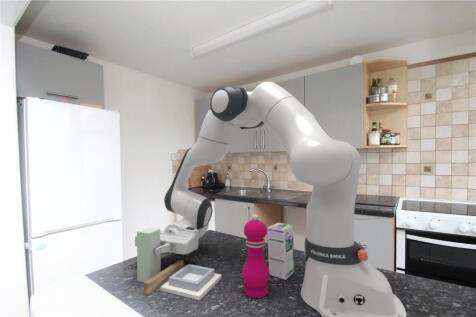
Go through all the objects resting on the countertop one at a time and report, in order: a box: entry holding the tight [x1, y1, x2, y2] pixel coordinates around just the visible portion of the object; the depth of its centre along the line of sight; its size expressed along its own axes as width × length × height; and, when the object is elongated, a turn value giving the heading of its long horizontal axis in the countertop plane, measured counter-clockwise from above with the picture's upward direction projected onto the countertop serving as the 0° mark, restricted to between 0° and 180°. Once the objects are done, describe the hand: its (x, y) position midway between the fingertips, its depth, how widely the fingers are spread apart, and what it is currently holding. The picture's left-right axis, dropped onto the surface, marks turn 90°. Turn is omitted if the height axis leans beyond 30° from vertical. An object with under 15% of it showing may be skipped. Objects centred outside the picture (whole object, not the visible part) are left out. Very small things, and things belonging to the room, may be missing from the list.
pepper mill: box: [241, 214, 271, 299], centre depth 63 cm, size 7×7×20 cm
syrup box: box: [267, 222, 295, 281], centre depth 72 cm, size 6×6×14 cm
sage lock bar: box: [136, 227, 162, 283], centre depth 70 cm, size 4×4×14 cm
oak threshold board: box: [143, 259, 185, 296], centre depth 69 cm, size 2×15×3 cm, turn 157°
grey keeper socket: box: [159, 263, 223, 301], centre depth 67 cm, size 12×12×3 cm
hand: (146, 250), depth 70 cm, fingers closed on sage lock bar, 4 cm apart
